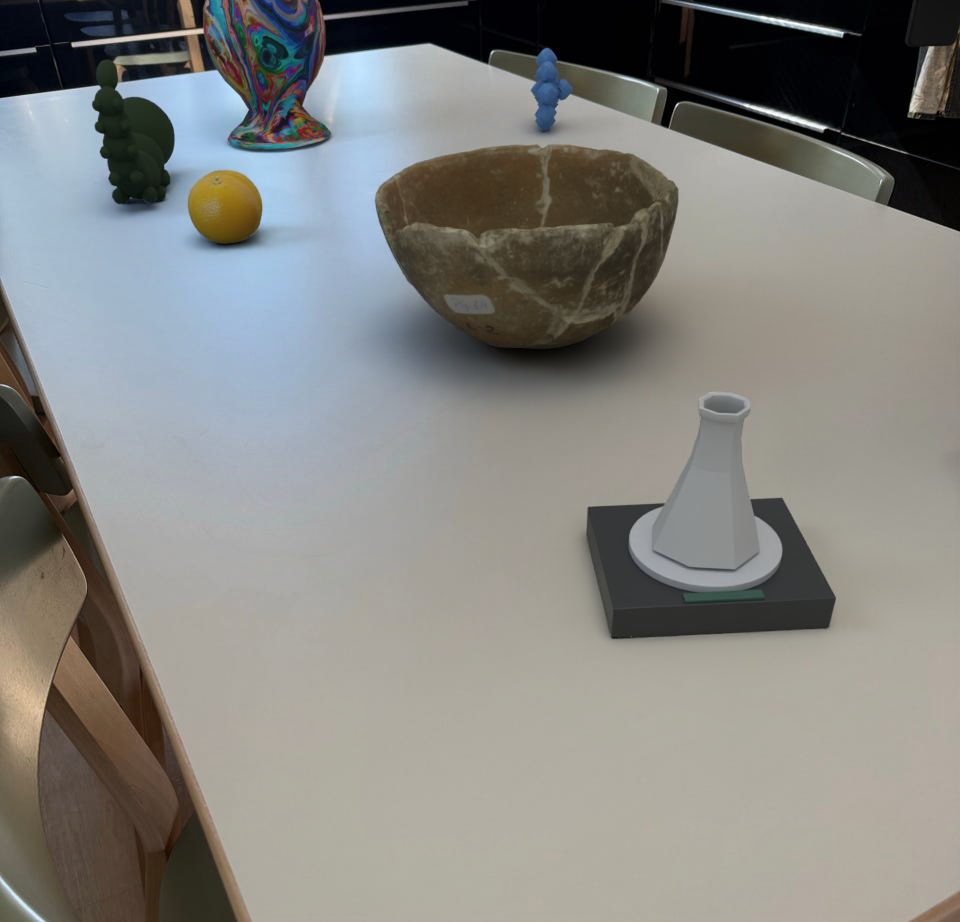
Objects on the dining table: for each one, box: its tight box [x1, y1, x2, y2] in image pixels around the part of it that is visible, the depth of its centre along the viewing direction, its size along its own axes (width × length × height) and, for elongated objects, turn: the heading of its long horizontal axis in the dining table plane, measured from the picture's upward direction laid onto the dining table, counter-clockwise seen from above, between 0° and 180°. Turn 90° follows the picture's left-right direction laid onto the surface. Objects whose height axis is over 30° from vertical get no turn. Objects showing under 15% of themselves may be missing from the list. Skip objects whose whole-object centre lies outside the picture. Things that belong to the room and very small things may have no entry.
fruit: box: [187, 169, 264, 245], centre depth 124 cm, size 9×8×8 cm
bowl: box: [374, 143, 680, 350], centre depth 96 cm, size 28×27×15 cm
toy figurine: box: [91, 59, 176, 205], centre depth 137 cm, size 9×19×25 cm
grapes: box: [530, 47, 574, 132], centre depth 161 cm, size 12×7×12 cm, turn 179°
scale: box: [585, 497, 837, 639], centre depth 68 cm, size 14×12×3 cm
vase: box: [202, 0, 332, 150], centre depth 155 cm, size 18×18×30 cm
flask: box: [653, 391, 760, 569], centre depth 64 cm, size 7×7×10 cm
